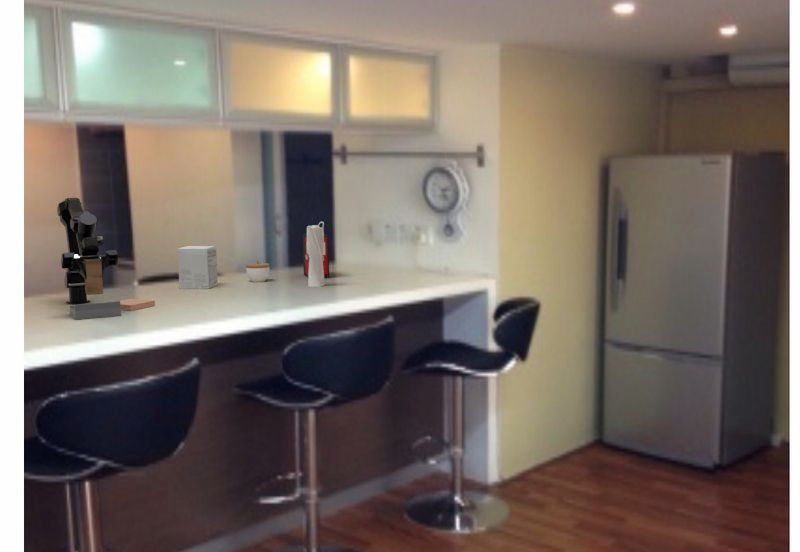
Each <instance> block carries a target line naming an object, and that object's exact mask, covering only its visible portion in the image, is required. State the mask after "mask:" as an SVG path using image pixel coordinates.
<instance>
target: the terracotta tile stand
mask: <svg viewBox="0 0 800 552" xmlns="http://www.w3.org/2000/svg"><path fill="white" fill-rule="evenodd" d="M119 301H120V306H121V311H129V312H130V311H137V310H142V309H147V308H152V307H156V302H155V300H152V299H151V300H150V299H140V298H127V299H122V300H119Z"/></svg>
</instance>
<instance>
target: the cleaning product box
mask: <svg viewBox="0 0 800 552" xmlns="http://www.w3.org/2000/svg"><path fill="white" fill-rule="evenodd" d="M329 238H330V237H329V235H328V234H326V233H324V249H323V255H322V261H323V269H324V280H325V279H330V251H329V250H330V247H329V246H330V245H329V244H330V243H329V242H330V241H329ZM302 252H303V256H302V258H303V262H302V263H303V276H305V277H306V278H308V274H309V254H308V248H307V233H302Z"/></svg>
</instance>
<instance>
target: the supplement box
mask: <svg viewBox="0 0 800 552" xmlns="http://www.w3.org/2000/svg"><path fill="white" fill-rule="evenodd" d="M217 258H218V257H217V246H216V245H210V246H209V245H187V246H182V247H179V248H177V261H178V263H177V265H178V286H179V287H178V288H179V290H185V289H186V290H187V289H188V290H195V289H196V290H209V289H211V288H214V287H216V286H218V268H217V267H218V260H217Z"/></svg>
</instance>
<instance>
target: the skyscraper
mask: <svg viewBox="0 0 800 552" xmlns="http://www.w3.org/2000/svg"><path fill="white" fill-rule="evenodd" d="M320 224H322V226H321V227H320ZM324 227H325V222H324V221H320V222H319V223H318V224H316V225H315V224H314V225H313V224H312V225H308V226H306V234H307V248H308V254H309V274H308V277H307V278H308V279H307V281H308V282H307V283H308V285H307V286H308V288H312V287H313V288H322V287H324V286H325V279H324V269H323V261H322V255H323V249H324V234H325V233H324V232H325V231H324V230H325V229H324Z"/></svg>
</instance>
